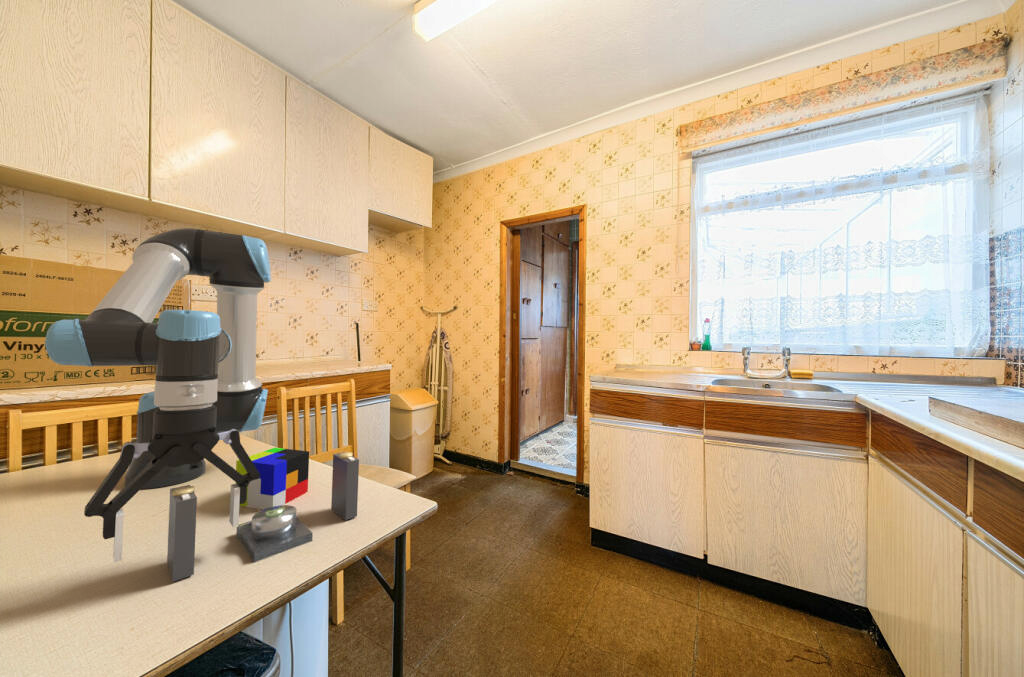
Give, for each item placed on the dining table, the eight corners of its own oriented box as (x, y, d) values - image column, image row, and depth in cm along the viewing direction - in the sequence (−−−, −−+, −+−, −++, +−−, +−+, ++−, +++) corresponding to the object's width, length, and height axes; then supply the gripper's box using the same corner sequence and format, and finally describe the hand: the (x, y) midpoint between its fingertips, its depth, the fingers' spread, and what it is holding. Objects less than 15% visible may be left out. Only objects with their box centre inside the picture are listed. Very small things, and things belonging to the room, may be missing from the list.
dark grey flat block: (166, 562, 58) (169, 485, 58) (187, 555, 60) (190, 480, 60) (171, 582, 54) (175, 498, 54) (194, 574, 56) (197, 493, 56)
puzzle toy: (272, 511, 77) (274, 465, 77) (234, 505, 79) (236, 460, 79) (307, 492, 87) (309, 451, 87) (273, 487, 89) (274, 447, 89)
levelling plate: (236, 535, 67) (237, 507, 67) (289, 518, 74) (290, 492, 74) (254, 562, 60) (255, 530, 60) (312, 540, 66) (313, 512, 66)
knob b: (330, 509, 78) (332, 451, 78) (342, 505, 80) (344, 449, 80) (345, 520, 73) (347, 459, 74) (357, 516, 75) (359, 456, 76)
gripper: (60, 420, 45) (51, 589, 45) (282, 401, 64) (278, 519, 64) (64, 412, 50) (56, 564, 50) (269, 396, 69) (265, 506, 69)
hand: (180, 539), depth 57 cm, fingers open, 13 cm apart
